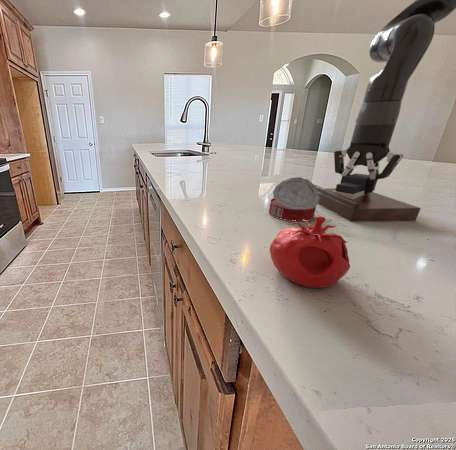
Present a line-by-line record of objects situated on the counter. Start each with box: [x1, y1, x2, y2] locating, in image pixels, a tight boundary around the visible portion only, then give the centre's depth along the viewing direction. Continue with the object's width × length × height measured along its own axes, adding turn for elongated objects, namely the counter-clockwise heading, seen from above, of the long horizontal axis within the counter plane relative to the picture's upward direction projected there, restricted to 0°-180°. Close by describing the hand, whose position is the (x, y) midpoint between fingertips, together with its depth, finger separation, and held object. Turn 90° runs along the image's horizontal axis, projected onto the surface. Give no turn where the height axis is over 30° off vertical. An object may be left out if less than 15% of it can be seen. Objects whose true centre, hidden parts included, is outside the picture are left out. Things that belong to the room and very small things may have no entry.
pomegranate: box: [269, 215, 351, 289], centre depth 35 cm, size 10×10×9 cm
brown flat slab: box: [314, 184, 422, 222], centre depth 62 cm, size 14×18×4 cm
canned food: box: [268, 176, 319, 222], centre depth 59 cm, size 11×10×10 cm
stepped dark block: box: [333, 172, 369, 199], centre depth 64 cm, size 11×5×4 cm, turn 123°
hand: (355, 191), depth 65 cm, fingers closed on stepped dark block, 4 cm apart
